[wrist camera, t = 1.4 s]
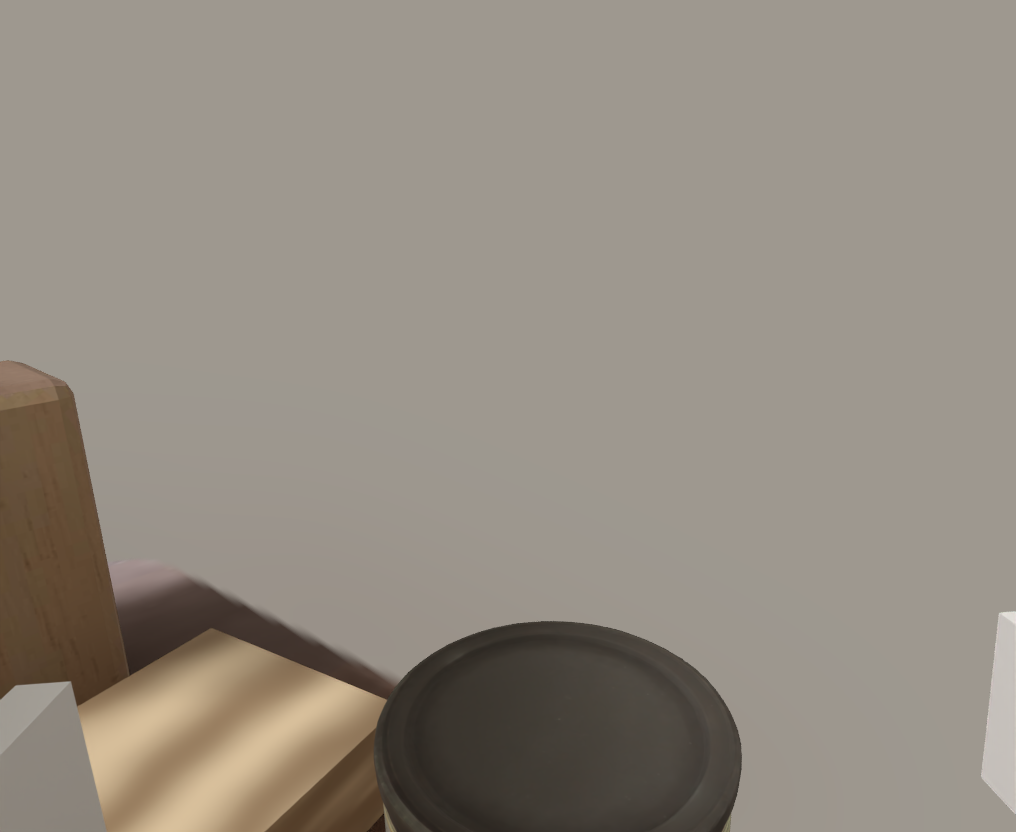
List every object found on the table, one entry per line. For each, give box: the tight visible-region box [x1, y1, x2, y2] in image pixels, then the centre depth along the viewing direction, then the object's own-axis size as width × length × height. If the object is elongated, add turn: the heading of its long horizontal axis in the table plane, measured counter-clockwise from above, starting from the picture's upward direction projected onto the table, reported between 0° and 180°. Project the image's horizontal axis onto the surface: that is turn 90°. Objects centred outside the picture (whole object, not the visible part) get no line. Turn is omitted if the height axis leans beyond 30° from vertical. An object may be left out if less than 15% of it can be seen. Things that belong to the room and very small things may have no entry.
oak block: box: [77, 628, 387, 832], centre depth 33 cm, size 14×14×5 cm
